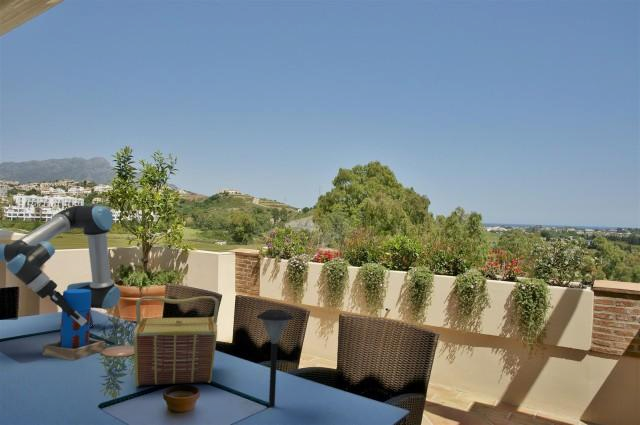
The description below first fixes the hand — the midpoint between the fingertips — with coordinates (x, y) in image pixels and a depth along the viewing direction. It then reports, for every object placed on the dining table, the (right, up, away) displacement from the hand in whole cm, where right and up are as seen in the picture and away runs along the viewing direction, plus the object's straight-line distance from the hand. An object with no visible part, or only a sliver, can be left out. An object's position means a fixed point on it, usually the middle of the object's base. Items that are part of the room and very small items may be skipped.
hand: (83, 320), depth 199 cm
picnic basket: (+48, -15, -29) cm, 58 cm away
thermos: (-3, -12, -2) cm, 13 cm away
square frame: (-3, -13, -2) cm, 14 cm away
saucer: (+15, -14, +2) cm, 21 cm away
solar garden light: (+86, -15, -51) cm, 101 cm away
